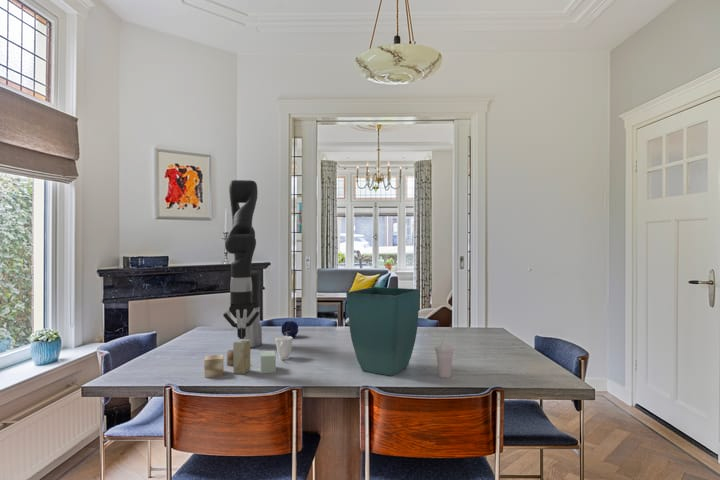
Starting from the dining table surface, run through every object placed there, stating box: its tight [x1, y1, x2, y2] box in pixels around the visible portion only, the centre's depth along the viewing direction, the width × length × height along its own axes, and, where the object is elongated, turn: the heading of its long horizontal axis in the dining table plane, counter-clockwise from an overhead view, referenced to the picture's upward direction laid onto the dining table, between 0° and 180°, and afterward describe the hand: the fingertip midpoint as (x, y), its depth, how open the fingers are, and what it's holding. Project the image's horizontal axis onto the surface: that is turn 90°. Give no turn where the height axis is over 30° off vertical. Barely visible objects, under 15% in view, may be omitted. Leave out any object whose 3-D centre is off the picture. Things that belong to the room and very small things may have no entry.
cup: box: [275, 335, 294, 361], centre depth 170 cm, size 7×10×8 cm
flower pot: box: [345, 286, 421, 376], centre depth 154 cm, size 20×20×28 cm
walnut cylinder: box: [226, 349, 233, 367], centre depth 164 cm, size 5×5×5 cm
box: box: [232, 339, 251, 375], centre depth 154 cm, size 5×4×11 cm
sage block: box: [259, 350, 277, 374], centre depth 156 cm, size 5×7×6 cm
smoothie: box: [434, 333, 455, 379], centre depth 146 cm, size 6×6×14 cm
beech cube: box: [204, 354, 224, 378], centre depth 152 cm, size 6×6×6 cm
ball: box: [281, 320, 299, 338], centre depth 210 cm, size 8×8×8 cm
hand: (241, 338), depth 154 cm, fingers closed
